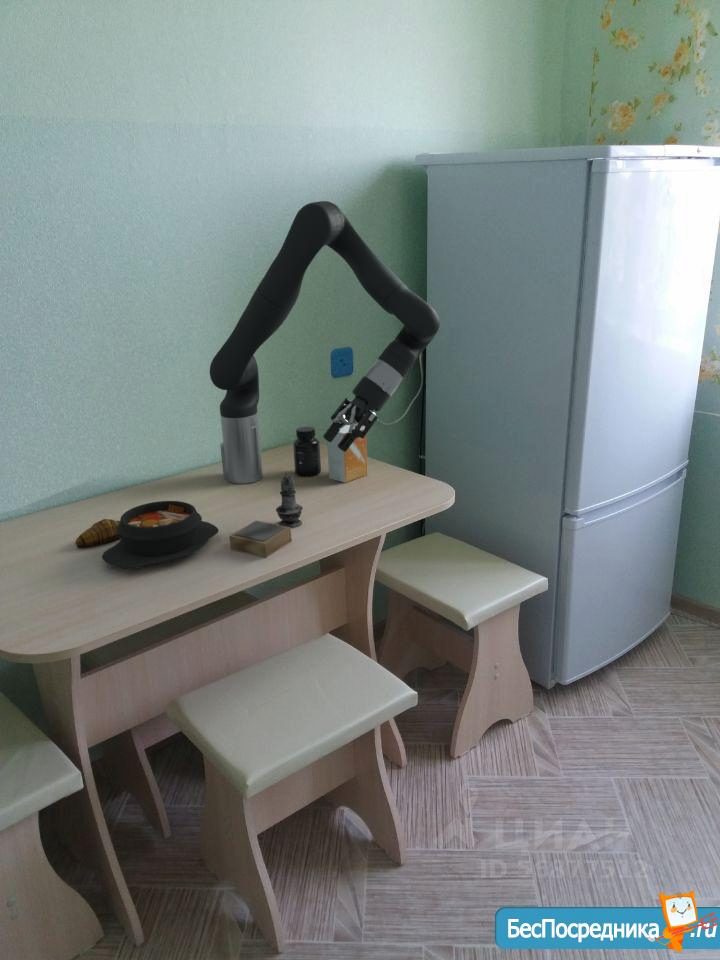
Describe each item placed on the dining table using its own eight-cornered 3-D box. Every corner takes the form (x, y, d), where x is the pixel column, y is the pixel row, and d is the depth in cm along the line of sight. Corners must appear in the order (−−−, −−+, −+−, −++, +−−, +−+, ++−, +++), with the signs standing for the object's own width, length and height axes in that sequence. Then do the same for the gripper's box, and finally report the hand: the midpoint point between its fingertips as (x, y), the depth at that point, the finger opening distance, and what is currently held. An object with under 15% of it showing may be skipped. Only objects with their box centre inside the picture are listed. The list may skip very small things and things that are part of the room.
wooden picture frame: (230, 549, 162) (229, 535, 161) (257, 533, 169) (255, 519, 168) (266, 557, 158) (264, 542, 156) (291, 540, 165) (290, 526, 164)
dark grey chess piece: (305, 518, 176) (302, 467, 172) (301, 529, 171) (297, 477, 166) (279, 518, 177) (275, 468, 173) (274, 529, 171) (270, 477, 167)
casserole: (182, 521, 177) (178, 486, 174) (238, 541, 166) (235, 504, 163) (84, 561, 159) (78, 523, 156) (139, 586, 148) (134, 545, 145)
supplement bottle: (289, 474, 205) (286, 430, 201) (307, 467, 210) (305, 423, 206) (308, 479, 201) (305, 434, 196) (326, 472, 205) (324, 427, 201)
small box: (345, 483, 197) (343, 433, 192) (328, 478, 201) (325, 429, 197) (368, 475, 202) (366, 426, 198) (351, 470, 206) (349, 422, 202)
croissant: (83, 554, 163) (79, 532, 161) (70, 545, 167) (66, 523, 166) (143, 535, 171) (140, 514, 169) (130, 527, 176) (127, 506, 174)
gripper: (353, 370, 177) (309, 427, 176) (379, 380, 164) (333, 443, 164) (375, 389, 180) (333, 446, 180) (403, 401, 168) (358, 462, 168)
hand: (333, 444), depth 172 cm, fingers open, 8 cm apart
